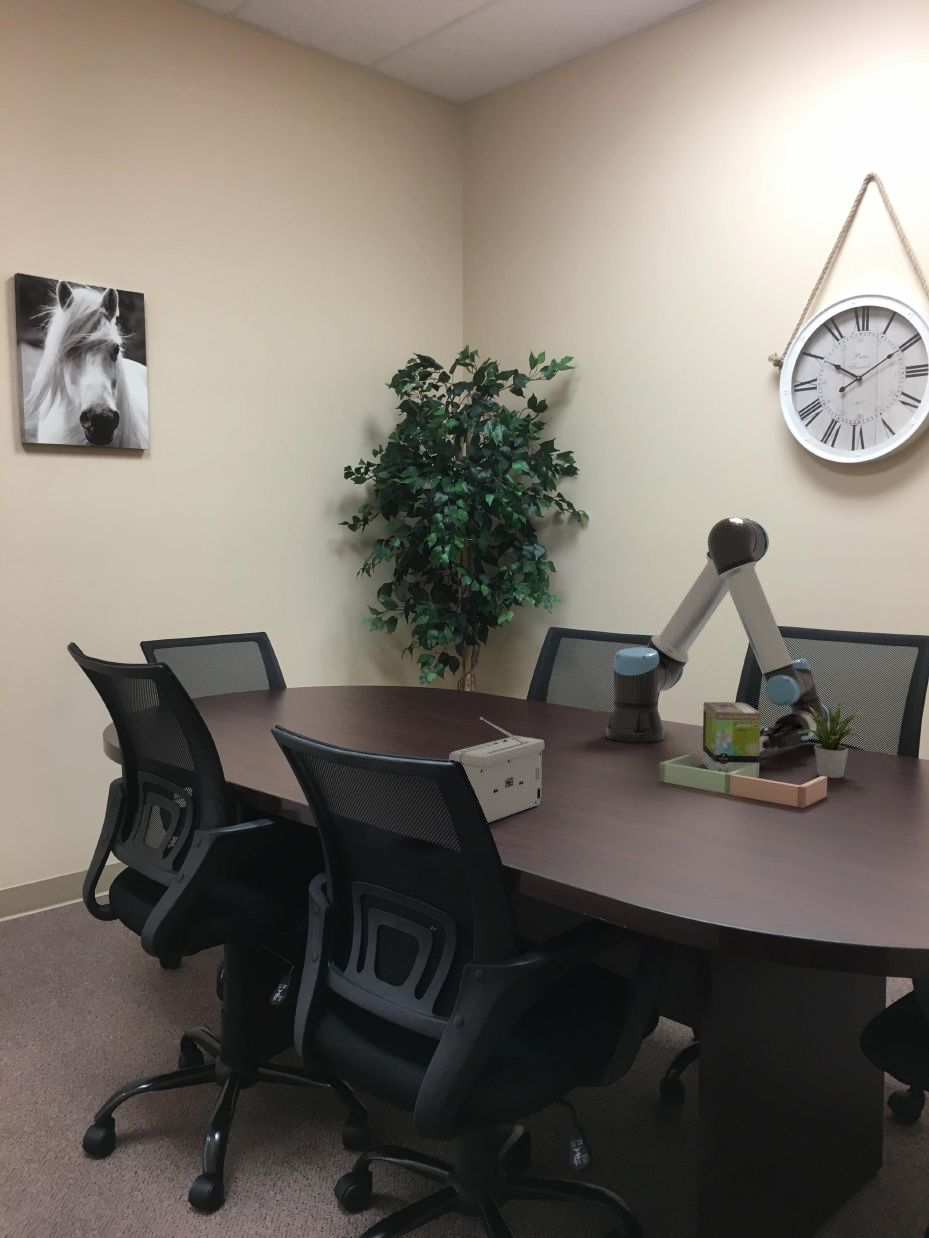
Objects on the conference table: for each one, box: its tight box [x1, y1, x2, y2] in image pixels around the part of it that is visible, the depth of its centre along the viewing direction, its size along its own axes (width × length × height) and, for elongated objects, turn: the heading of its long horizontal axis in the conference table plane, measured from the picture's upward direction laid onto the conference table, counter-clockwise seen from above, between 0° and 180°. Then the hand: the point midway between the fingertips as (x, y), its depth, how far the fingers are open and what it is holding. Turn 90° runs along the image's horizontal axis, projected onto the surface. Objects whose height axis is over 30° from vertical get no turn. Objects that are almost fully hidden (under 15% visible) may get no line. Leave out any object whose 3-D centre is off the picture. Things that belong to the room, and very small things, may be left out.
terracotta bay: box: [729, 774, 828, 809], centre depth 193 cm, size 15×12×4 cm
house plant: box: [804, 702, 865, 779], centre depth 209 cm, size 14×14×16 cm
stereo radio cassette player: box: [448, 716, 546, 824], centre depth 180 cm, size 21×8×20 cm, turn 141°
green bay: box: [659, 753, 756, 795], centre depth 204 cm, size 16×12×4 cm
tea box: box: [702, 701, 761, 778], centre depth 214 cm, size 15×10×15 cm
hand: (753, 747), depth 216 cm, fingers closed
